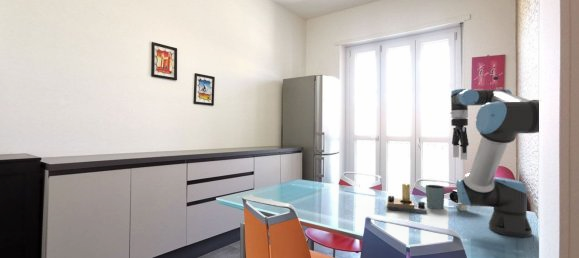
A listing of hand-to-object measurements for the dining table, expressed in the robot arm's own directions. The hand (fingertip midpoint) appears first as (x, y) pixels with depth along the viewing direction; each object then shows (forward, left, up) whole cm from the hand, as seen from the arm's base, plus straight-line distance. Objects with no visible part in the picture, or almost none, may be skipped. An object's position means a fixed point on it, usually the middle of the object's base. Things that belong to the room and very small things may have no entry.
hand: (459, 158), depth 149 cm
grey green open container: (+11, +10, -30) cm, 34 cm away
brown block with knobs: (+1, +26, -30) cm, 40 cm away
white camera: (+9, -3, -30) cm, 32 cm away
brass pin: (+1, +26, -30) cm, 40 cm away
